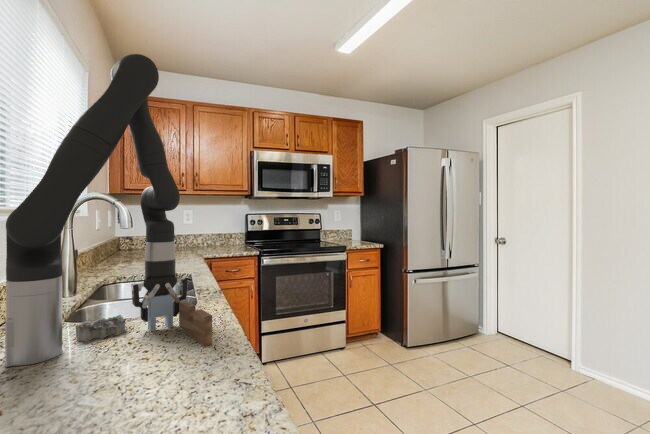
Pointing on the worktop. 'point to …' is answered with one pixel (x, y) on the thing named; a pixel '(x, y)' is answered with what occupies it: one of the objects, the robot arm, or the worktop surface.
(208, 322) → the slotted plate
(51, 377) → the worktop surface
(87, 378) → the worktop surface
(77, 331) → the egg carton
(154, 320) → the notched block
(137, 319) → the worktop surface
